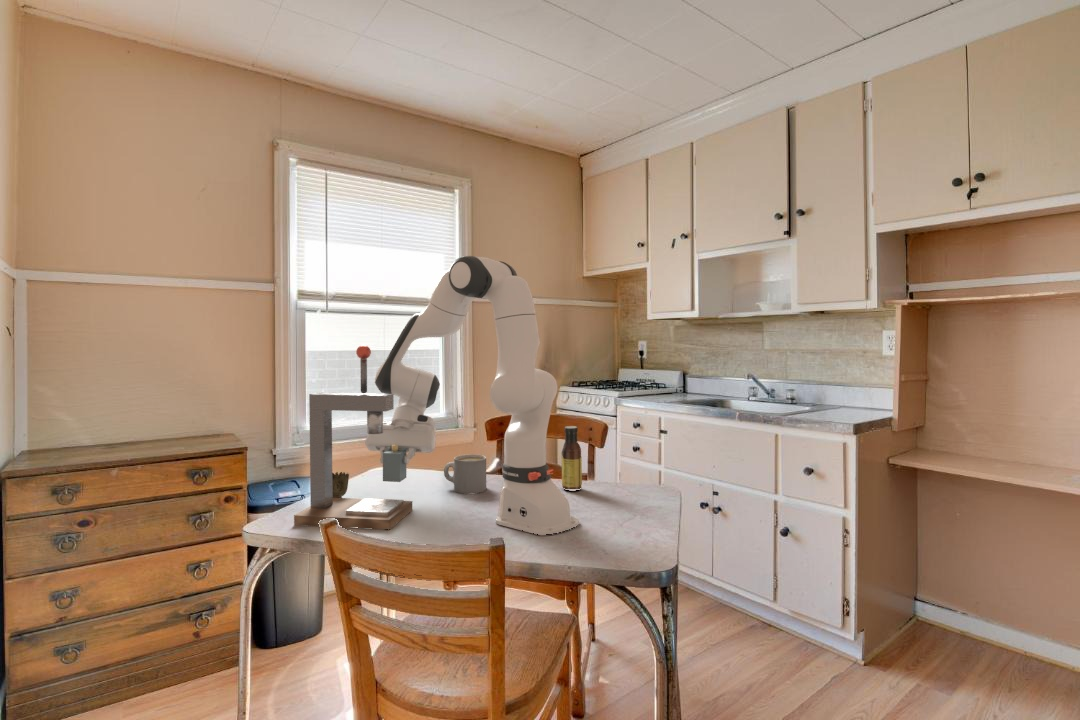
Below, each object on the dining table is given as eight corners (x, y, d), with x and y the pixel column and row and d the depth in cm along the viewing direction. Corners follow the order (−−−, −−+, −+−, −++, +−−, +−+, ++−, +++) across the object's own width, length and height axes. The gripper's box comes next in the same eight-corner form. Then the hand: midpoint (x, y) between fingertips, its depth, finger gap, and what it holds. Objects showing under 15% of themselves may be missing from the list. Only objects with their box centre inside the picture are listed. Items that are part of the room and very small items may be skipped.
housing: (406, 477, 161) (406, 443, 160) (399, 482, 156) (399, 447, 155) (389, 476, 161) (389, 443, 161) (382, 481, 156) (382, 446, 156)
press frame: (403, 503, 150) (402, 345, 149) (387, 516, 139) (386, 345, 138) (325, 500, 153) (323, 344, 152) (303, 512, 142) (301, 345, 141)
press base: (412, 510, 153) (412, 501, 153) (389, 530, 137) (389, 520, 137) (326, 506, 156) (326, 497, 156) (294, 525, 140) (294, 515, 140)
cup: (340, 506, 155) (339, 478, 155) (316, 505, 157) (316, 477, 157) (354, 499, 163) (354, 472, 162) (331, 497, 164) (331, 470, 164)
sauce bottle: (571, 486, 178) (571, 424, 178) (585, 489, 174) (586, 426, 173) (557, 489, 174) (557, 426, 173) (571, 493, 169) (572, 429, 169)
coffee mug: (491, 487, 177) (491, 455, 176) (476, 495, 167) (476, 462, 167) (455, 482, 182) (455, 452, 181) (438, 490, 172) (438, 458, 172)
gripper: (370, 415, 166) (355, 455, 157) (436, 417, 163) (425, 458, 154) (376, 428, 171) (362, 467, 161) (441, 430, 168) (430, 470, 159)
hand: (393, 462), depth 158 cm, fingers closed on housing, 5 cm apart
